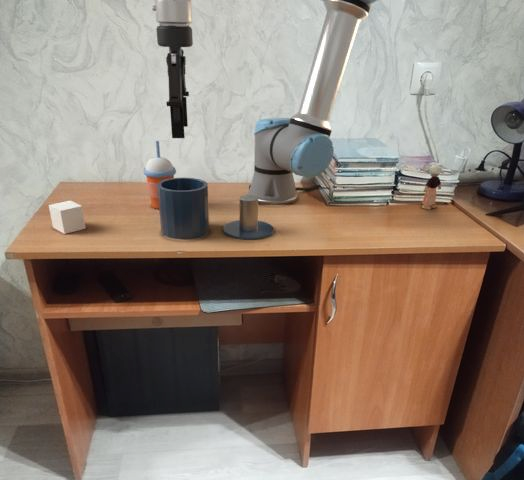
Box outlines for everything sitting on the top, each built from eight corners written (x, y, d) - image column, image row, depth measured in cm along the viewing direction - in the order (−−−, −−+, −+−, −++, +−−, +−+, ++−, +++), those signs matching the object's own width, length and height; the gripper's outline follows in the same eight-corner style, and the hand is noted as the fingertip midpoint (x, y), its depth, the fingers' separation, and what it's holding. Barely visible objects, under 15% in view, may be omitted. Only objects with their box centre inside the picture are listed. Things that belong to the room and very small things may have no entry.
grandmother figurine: (427, 203, 161) (436, 161, 154) (439, 206, 159) (448, 163, 152) (415, 209, 156) (424, 165, 149) (427, 212, 154) (436, 168, 147)
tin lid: (271, 224, 142) (272, 190, 137) (275, 242, 131) (277, 206, 126) (223, 223, 141) (222, 189, 136) (223, 242, 130) (222, 205, 125)
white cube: (74, 222, 139) (70, 200, 136) (85, 228, 136) (82, 205, 132) (52, 227, 135) (48, 204, 132) (64, 234, 132) (60, 210, 129)
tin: (209, 224, 141) (207, 177, 134) (208, 241, 130) (207, 191, 123) (163, 224, 140) (160, 177, 133) (159, 241, 129) (155, 191, 123)
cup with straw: (171, 212, 148) (167, 145, 138) (141, 209, 149) (135, 143, 140) (182, 202, 155) (178, 139, 146) (153, 200, 157) (147, 136, 147)
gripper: (161, 23, 120) (168, 121, 132) (149, 26, 99) (158, 143, 111) (194, 23, 120) (198, 122, 132) (189, 27, 100) (194, 143, 111)
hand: (180, 132), depth 121 cm, fingers open, 13 cm apart
